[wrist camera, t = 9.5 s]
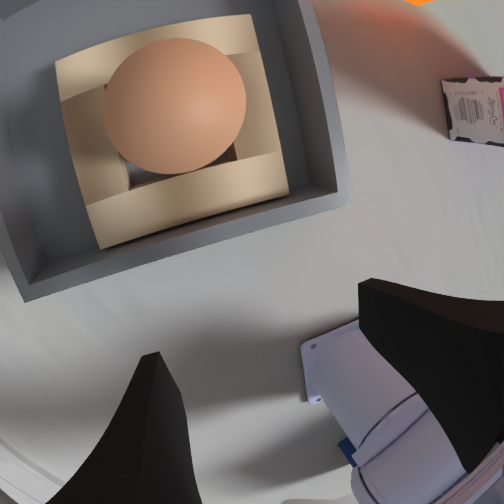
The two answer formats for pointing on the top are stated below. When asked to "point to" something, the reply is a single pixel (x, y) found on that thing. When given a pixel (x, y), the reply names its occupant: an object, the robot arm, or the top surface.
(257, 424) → the top surface
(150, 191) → the plate
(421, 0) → the orange juice
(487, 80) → the candy box
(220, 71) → the peg
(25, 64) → the tray
